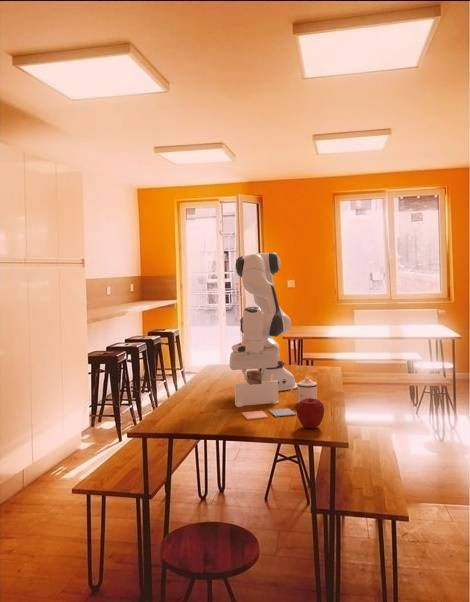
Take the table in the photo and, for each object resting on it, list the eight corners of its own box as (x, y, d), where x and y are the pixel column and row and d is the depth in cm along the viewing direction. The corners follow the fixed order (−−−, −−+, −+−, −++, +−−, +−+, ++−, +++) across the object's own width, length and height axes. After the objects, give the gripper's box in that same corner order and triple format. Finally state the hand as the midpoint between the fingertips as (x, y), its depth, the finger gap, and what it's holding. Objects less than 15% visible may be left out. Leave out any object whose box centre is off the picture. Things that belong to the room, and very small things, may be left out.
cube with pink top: (258, 381, 218) (258, 369, 217) (261, 383, 213) (261, 371, 213) (246, 382, 217) (246, 370, 216) (249, 384, 212) (249, 372, 211)
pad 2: (288, 409, 224) (288, 408, 224) (295, 415, 215) (295, 413, 215) (268, 411, 222) (268, 410, 222) (275, 417, 213) (275, 415, 213)
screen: (276, 400, 239) (275, 379, 239) (279, 403, 234) (279, 381, 234) (234, 404, 235) (233, 382, 234) (236, 407, 230) (236, 385, 229)
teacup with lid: (317, 400, 238) (317, 375, 237) (317, 405, 229) (317, 380, 228) (291, 400, 240) (291, 375, 239) (290, 405, 231) (290, 379, 230)
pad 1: (262, 412, 221) (262, 410, 221) (268, 417, 212) (268, 416, 212) (241, 413, 219) (241, 412, 219) (247, 419, 210) (247, 418, 210)
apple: (299, 422, 205) (298, 393, 204) (326, 424, 202) (325, 394, 201) (294, 431, 195) (293, 400, 194) (322, 433, 192) (322, 402, 191)
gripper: (275, 343, 219) (275, 376, 220) (228, 346, 215) (228, 379, 215) (279, 346, 213) (280, 379, 214) (231, 348, 208) (232, 382, 209)
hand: (254, 379), depth 215 cm, fingers closed on cube with pink top, 5 cm apart
